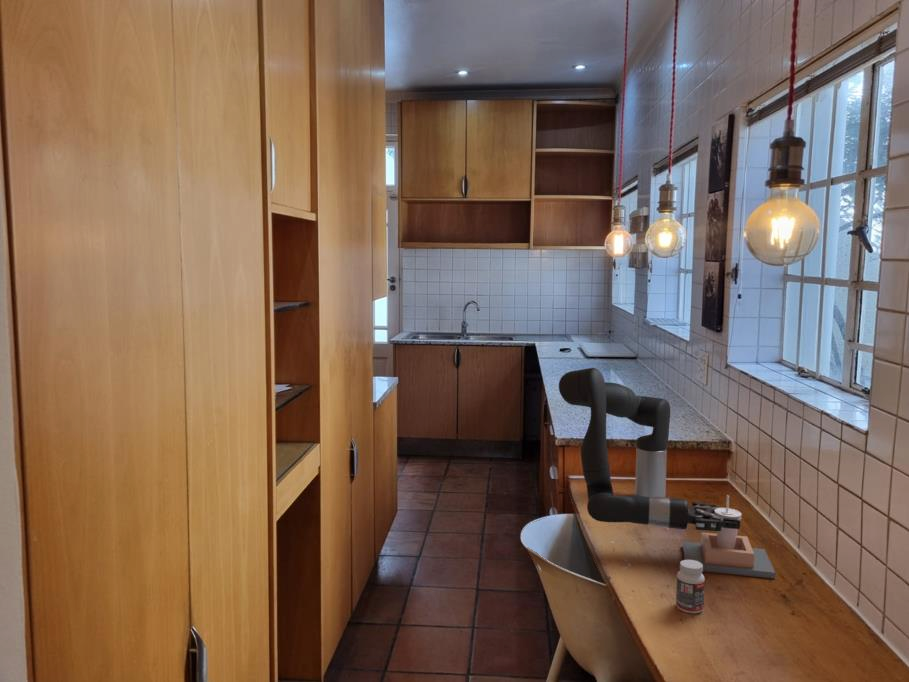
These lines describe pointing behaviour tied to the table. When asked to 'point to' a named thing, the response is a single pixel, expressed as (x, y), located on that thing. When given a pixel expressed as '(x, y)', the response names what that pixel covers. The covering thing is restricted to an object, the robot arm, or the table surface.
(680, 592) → the pill bottle
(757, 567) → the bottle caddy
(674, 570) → the table surface
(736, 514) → the smoothie
